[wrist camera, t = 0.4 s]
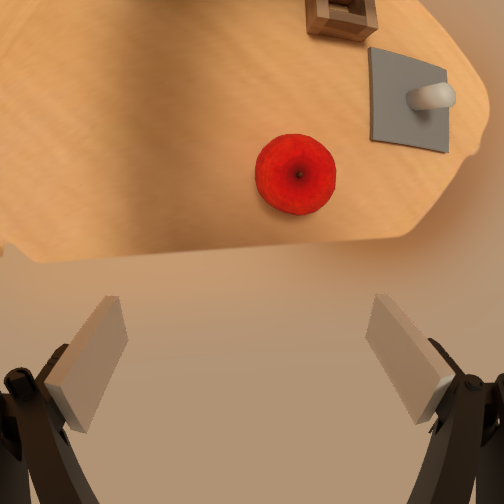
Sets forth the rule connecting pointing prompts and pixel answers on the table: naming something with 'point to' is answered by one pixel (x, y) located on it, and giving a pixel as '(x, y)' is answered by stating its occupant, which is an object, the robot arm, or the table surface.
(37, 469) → the robot arm
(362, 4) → the frame
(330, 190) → the apple
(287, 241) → the table surface
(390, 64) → the stand
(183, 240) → the table surface
